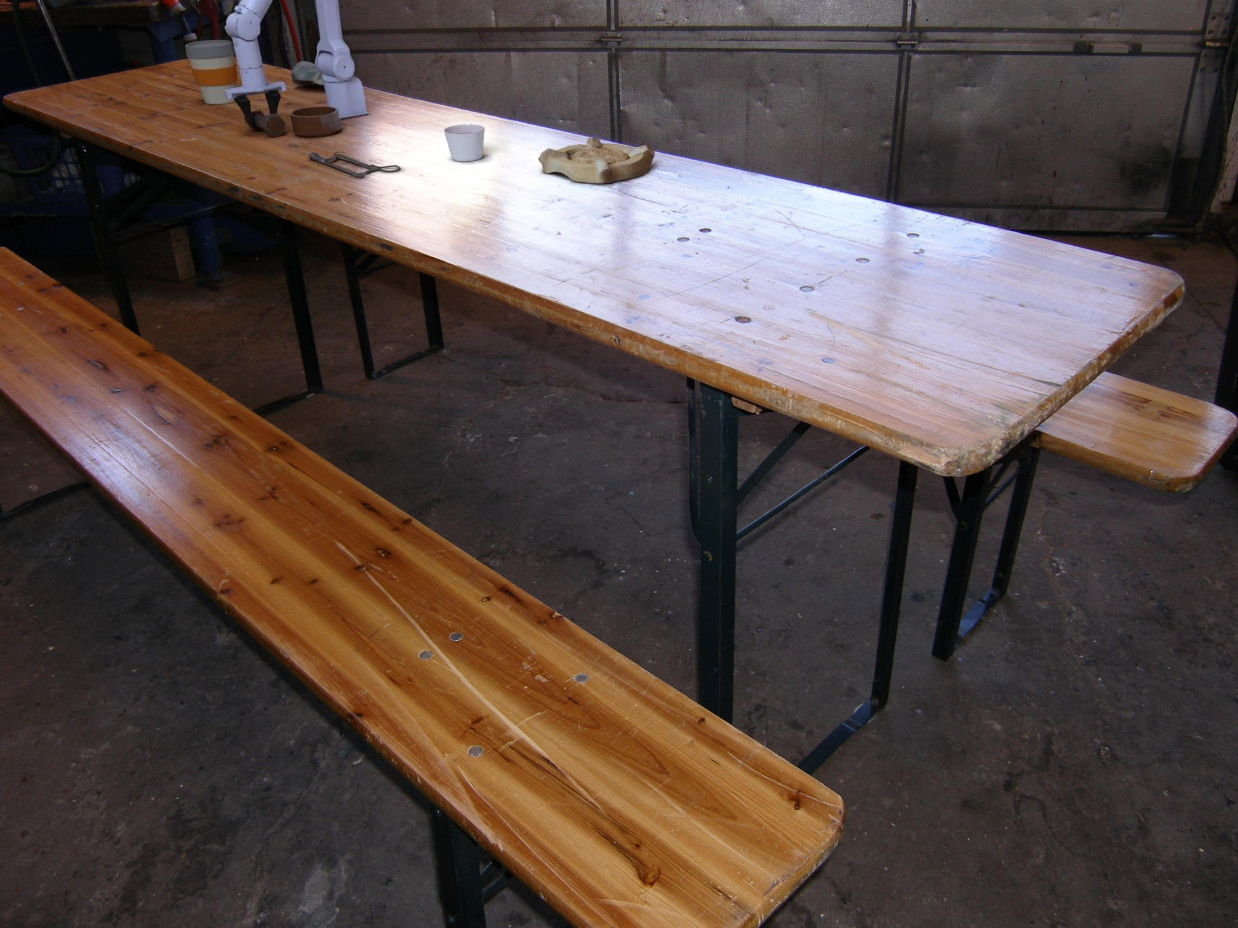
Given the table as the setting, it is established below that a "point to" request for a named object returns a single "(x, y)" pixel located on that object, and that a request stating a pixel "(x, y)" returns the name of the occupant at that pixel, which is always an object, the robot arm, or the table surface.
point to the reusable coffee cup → (213, 68)
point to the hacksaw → (371, 167)
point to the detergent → (306, 74)
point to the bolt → (268, 123)
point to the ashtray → (598, 161)
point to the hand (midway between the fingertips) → (263, 125)
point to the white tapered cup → (465, 141)
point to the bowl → (315, 121)
